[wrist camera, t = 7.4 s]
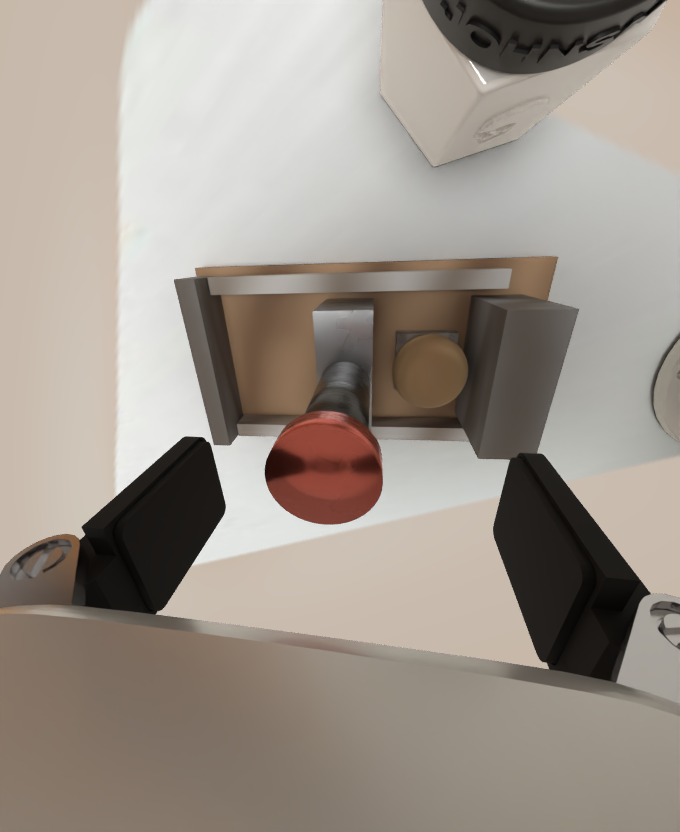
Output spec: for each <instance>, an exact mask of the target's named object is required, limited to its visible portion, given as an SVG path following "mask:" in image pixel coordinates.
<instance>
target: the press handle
mask: <svg viewBox="0 0 680 832" xmlns="http://www.w3.org/2000/svg"><path fill="white" fill-rule="evenodd" d="M373 308H374V298H345V299H326V300H325V301H323V302H322V303H321V304H320V305H319V306H318V307H317V308H316V309H315V310H313V324H314V339H315V354H316V369H317V384H318V385H317V387H316V389H315V391H314V394H313V396H312V398H311V400H310V403H309V405H308V407H307V409H306V412H305V414H303V415H301V416H299V417H297V418H295V419H294V420H292V421H291V422H290V423H288V424H287V425H286V426H285V428H284V429H283V430H282V431H281V433H280V435H279V436H278V438H277V440H276V442H275V444H274V446H273V448H272V450H271V452H270V453H269V456H268V458H267V461H266V465H265V479H266V483H267V486H268V489H269V491H270V493H271V494H272V496H273V497H274V499H275V500H276V501H277V502H278V503H279V504H280V505H281V506H282V507H283V508H284V509H285V510H286V511H288V512H289V513H291V514H293V515H294V516H296V517H298V518H301V519H303V520H306V521H309V522H313V523H318V524H341V523H346V522H350V521H353V520H355V519H357V518H359V517H361V516H363V515H364V514H366V513H367V512H368V511H369V510H370V509H371V508H372V507H373V506H374V505H375V504H376V502H377V501H378V499H379V497H380V494H381V491H382V485H383V476H382V454H381V449H380V446H379V443H378V441H377V440H376V438H375V436H374V435H373V434H372V432H371V427H372V369H373Z"/></svg>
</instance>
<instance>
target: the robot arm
mask: <svg viewBox="0 0 680 832" xmlns="http://www.w3.org/2000/svg"><path fill="white" fill-rule="evenodd" d="M653 405H654V409H655V413H656V417H657V419H658V421H659V423H660V424H661V426H662V428H663V429H664V430H665V431H666V432H667V433H668V434H669V435H670V436H671V437H672V438H674V439H675V440H677V441H679V442H680V338H679V340H678V341H677V343H676V344H675V345H674V347H673V348H672V350H671V351H670V352H669V354H668V355H667V357H666V359H665V361H664V363H663V365H662V367H661V369H660V371H659V373H658V377H657V381H656V384H655V388H654V404H653ZM225 509H226V505H225V500H224V496H223V492H222V488H221V484H220V480H219V476H218V472H217V468H216V464H215V460H214V456H213V452H212V448H211V445H210V443H209V442H206V440H205V439H204V438H203V437H184V438H182V439H181V440H180V441H179V442H177V443H176V444H175V445H174V446H173V447H172V448H171V449H170V450H168V451H167V452H166V453H165V454H164V455H163V456H162V457H160V458H159V459H158V460H157V461H156V462H155V463H154V464H152V465H151V466H150V467H149V468H148V469H147V470H146V471H145V472H143V473H142V474H141V475H140V476H139V477H138V478H137V479H135V480H134V481H133V482H132V483H131V484H130V485H129V486H127V487H126V488H125V489H124V490H123V491H122V492H121V493H120V494H118V495H117V496H116V497H115V498H114V499H113V500H112V501H110V502H109V503H108V504H107V505H106V506H105V507H104V508H102V509H101V510H100V511H99V512H98V513H97V514H96V515H95V516H93V517H92V518H91V519H90V520H89V521H88V522H87V523H85V524H84V525H83V526H82V529H83V531H84V533H85V536H84V537H83V538H82V539H81V540H79V539H78V538H77V537H76V536H75V535H70V534H62V535H56V536H52V537H48V538H46V539H43V540H41V541H38V542H36V543H34V544H33V545H31V546H29V547H27V548H25V549H24V550H23V551H21V552H20V553H18V554H17V555H16V556H14V557H13V558H12V559H11V560H10V561H9V562H8V563H7V564H6V565H5V567H4V569H3V570H2V572H1V574H0V832H680V598H679V597H674V596H671V595H667V594H651V593H650V592H649V591H648V590H647V588H646V587H645V586H644V584H643V583H642V582H641V580H640V579H639V578H638V576H637V575H636V574H635V573H634V571H633V570H632V569H631V567H630V566H629V565H628V563H627V562H626V561H625V560H624V558H623V557H622V556H621V555H620V553H619V552H618V551H617V549H616V548H615V547H614V545H613V544H612V543H611V542H610V540H609V539H608V537H607V536H606V535H605V534H604V532H603V531H602V530H601V528H600V527H599V526H598V524H597V523H596V522H595V521H594V519H593V518H592V517H591V516H590V514H589V513H588V511H587V510H586V509H585V508H584V507H583V505H582V504H581V503H580V501H579V500H578V499H577V498H576V496H575V495H574V494H573V492H572V491H571V490H570V488H569V487H568V486H567V484H566V483H565V482H564V481H563V479H562V478H561V477H560V475H559V474H558V473H557V471H556V470H555V469H554V468H553V466H552V465H551V464H550V462H549V461H548V460H547V458H546V457H545V456H544V455H543V454H536V453H519V454H518V455H517V457H513V458H511V459H510V462H509V466H508V470H507V474H506V478H505V482H504V486H503V490H502V494H501V498H500V502H499V506H498V510H497V514H496V518H495V522H494V526H493V533H494V538H495V541H496V544H497V547H498V549H499V552H500V555H501V558H502V560H503V563H504V566H505V569H506V571H507V574H508V576H509V579H510V582H511V585H512V587H513V590H514V593H515V595H516V599H517V601H518V604H519V607H520V609H521V612H522V615H523V617H524V620H525V623H526V626H527V628H528V631H529V634H530V636H531V639H532V642H533V645H534V648H535V650H536V653H537V655H538V657H539V659H540V660H541V661H542V662H546V663H547V664H548V667H549V669H550V670H549V669H543V668H537V667H530V666H523V665H518V664H511V663H505V662H499V661H492V660H486V659H479V658H472V657H465V656H457V655H450V654H444V653H436V652H430V651H423V650H415V649H408V648H401V647H393V646H387V645H380V644H373V643H365V642H358V641H350V640H343V639H336V638H329V637H321V636H314V635H306V634H299V633H292V632H284V631H277V630H269V629H262V628H255V627H247V626H240V625H232V624H224V623H217V622H208V621H201V620H193V619H185V618H177V617H170V616H162V615H155V614H156V613H157V611H160V610H162V609H163V608H164V607H165V606H166V604H167V603H168V601H169V599H170V598H171V596H172V595H173V593H174V592H175V590H176V589H177V587H178V585H179V584H180V582H181V581H182V579H183V578H184V576H185V574H186V573H187V571H188V570H189V568H190V567H191V565H192V564H193V562H194V561H195V559H196V557H197V556H198V554H199V553H200V551H201V550H202V548H203V547H204V545H205V543H206V542H207V540H208V539H209V537H210V536H211V534H212V533H213V531H214V529H215V528H216V526H217V525H218V523H219V522H220V520H221V518H222V517H223V515H224V513H225Z"/></svg>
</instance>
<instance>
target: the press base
mask: <svg viewBox="0 0 680 832" xmlns="http://www.w3.org/2000/svg"><path fill="white" fill-rule="evenodd" d="M557 259H558V257H519V258H487V259H456V260H424V261H393V262H361V263H330V264H298V265H267V266H235V267H204V268H195V271H196V276H197V277H192V278H183V279H175V280H174V283H175V287H176V291H177V295H178V299H179V303H180V307H181V312H182V316H183V320H184V324H185V328H186V332H187V336H188V340H189V344H190V348H191V352H192V357H193V361H194V365H195V369H196V373H197V377H198V381H199V385H200V389H201V393H202V398H203V402H204V406H205V410H206V414H207V418H208V422H209V426H210V430H211V434H212V439H213V443H214V445H231V444H232V442H233V441H234V440H235V438H236V437H237V436H238V434H239V436H274V437H278V436H279V435H280V433H281V431H282V430H283V429H284V428H285V426H286V425H287V424H288V423H290V422H291V421H292V420H294V419H295V418H297V417H299V416H301V415H303V414H305V412H306V409H307V407H308V405H309V403H310V400H311V398H312V396H313V394H314V391H315V389H316V387H317V385H318V384H317V369H316V354H315V339H314V324H313V310H315V309H316V308H317V307H318V306H319V305H320V304H321V303H322V302H323V301H325V300H326V299H345V298H374V308H373V369H372V427H371V432H372V434H373V435H374V436H375V438H376V439H399V440H441V441H470V443H471V445H472V447H473V449H474V451H475V453H476V455H477V457H478V459H509V460H510V459H511V458H513V457H517V455H518V454H519V453H536V454H537V450H538V447H539V444H540V440H541V437H542V433H543V430H544V427H545V423H546V420H547V416H548V413H549V410H550V406H551V403H552V399H553V396H554V393H555V389H556V386H557V382H558V379H559V376H560V372H561V369H562V365H563V362H564V359H565V355H566V352H567V348H568V345H569V342H570V338H571V335H572V331H573V328H574V325H575V321H576V318H577V314H578V311H579V309H576V308H573V307H569V306H565V305H561V304H558V303H554V302H550V301H547V300H548V296H549V292H550V288H551V283H552V279H553V275H554V271H555V267H556V263H557ZM428 334H435V335H441V336H445V337H447V338H449V339H451V340H452V341H454V342H455V343H456V344H457V345H459V347H460V348H461V349H462V351H463V352H464V354H465V356H466V359H467V363H468V377H467V381H466V384H465V386H464V388H463V390H462V391H461V393H460V394H459V395H458V396H457V397H456V398H455V399H454V400H452V401H451V402H449V403H447V404H446V405H443V406H440V407H436V408H422V407H418V406H415V405H413V404H411V403H409V402H407V401H406V400H405V399H404V398H403V397H402V396H401V395H400V394H399V393H398V391H397V389H396V387H395V385H394V382H393V377H392V369H393V363H394V360H395V358H396V356H397V354H398V352H399V351H400V349H401V348H402V347H403V346H404V345H405V344H406V343H407V342H409V341H410V340H412V339H414V338H416V337H419V336H422V335H428Z"/></svg>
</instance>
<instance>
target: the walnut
mask: <svg viewBox="0 0 680 832" xmlns="http://www.w3.org/2000/svg"><path fill="white" fill-rule="evenodd" d="M392 377H393V382H394V385H395V387H396V389H397V391H398V393H399V394H400V395H401V396H402V397H403V398H404V399H405V400H406V401H407V402H409V403H411V404H413V405H415V406H418V407H422V408H436V407H440V406H443V405H446V404H447V403H449V402H451V401H452V400H454V399H455V398H456V397H457V396H458V395H459V394H460V393H461V391H462V390H463V388H464V386H465V384H466V381H467V377H468V363H467V359H466V356H465V354H464V352H463V351H462V349H461V348H460V347H459V345H457V344H456V343H455V342H454V341H452V340H451V339H449V338H447V337H445V336H441V335H435V334H428V335H422V336H419V337H416V338H414V339H412V340H410V341H409V342H407V343H406V344H405V345H404V346H403V347H402V348H401V349H400V351H399V352H398V354H397V356H396V358H395V360H394V363H393V369H392Z"/></svg>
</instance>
